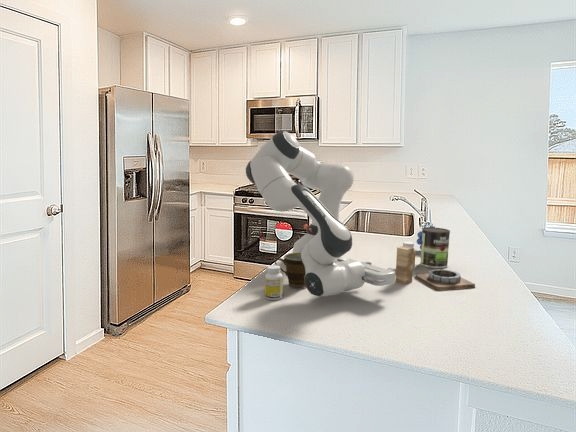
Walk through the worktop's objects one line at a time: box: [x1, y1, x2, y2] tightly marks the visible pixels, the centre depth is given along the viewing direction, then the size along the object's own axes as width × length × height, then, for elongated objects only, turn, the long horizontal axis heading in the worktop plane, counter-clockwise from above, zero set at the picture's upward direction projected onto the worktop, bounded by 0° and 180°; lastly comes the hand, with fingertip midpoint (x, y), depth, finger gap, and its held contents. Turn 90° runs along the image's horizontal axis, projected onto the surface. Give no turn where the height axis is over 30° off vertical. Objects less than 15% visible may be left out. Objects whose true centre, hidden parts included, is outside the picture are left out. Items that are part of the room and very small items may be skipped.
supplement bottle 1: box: [264, 264, 284, 301], centre depth 135 cm, size 5×5×10 cm
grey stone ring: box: [428, 268, 462, 284], centre depth 151 cm, size 10×10×2 cm
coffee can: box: [419, 227, 451, 269], centre depth 172 cm, size 10×10×14 cm
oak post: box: [395, 245, 415, 285], centre depth 151 cm, size 4×4×12 cm
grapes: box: [416, 225, 436, 250], centre depth 194 cm, size 12×7×12 cm, turn 44°
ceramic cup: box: [274, 252, 306, 289], centre depth 146 cm, size 13×10×10 cm
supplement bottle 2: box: [402, 241, 416, 269], centre depth 169 cm, size 5×5×10 cm
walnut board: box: [414, 273, 476, 292], centre depth 151 cm, size 14×14×1 cm
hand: (380, 267), depth 143 cm, fingers open, 8 cm apart
